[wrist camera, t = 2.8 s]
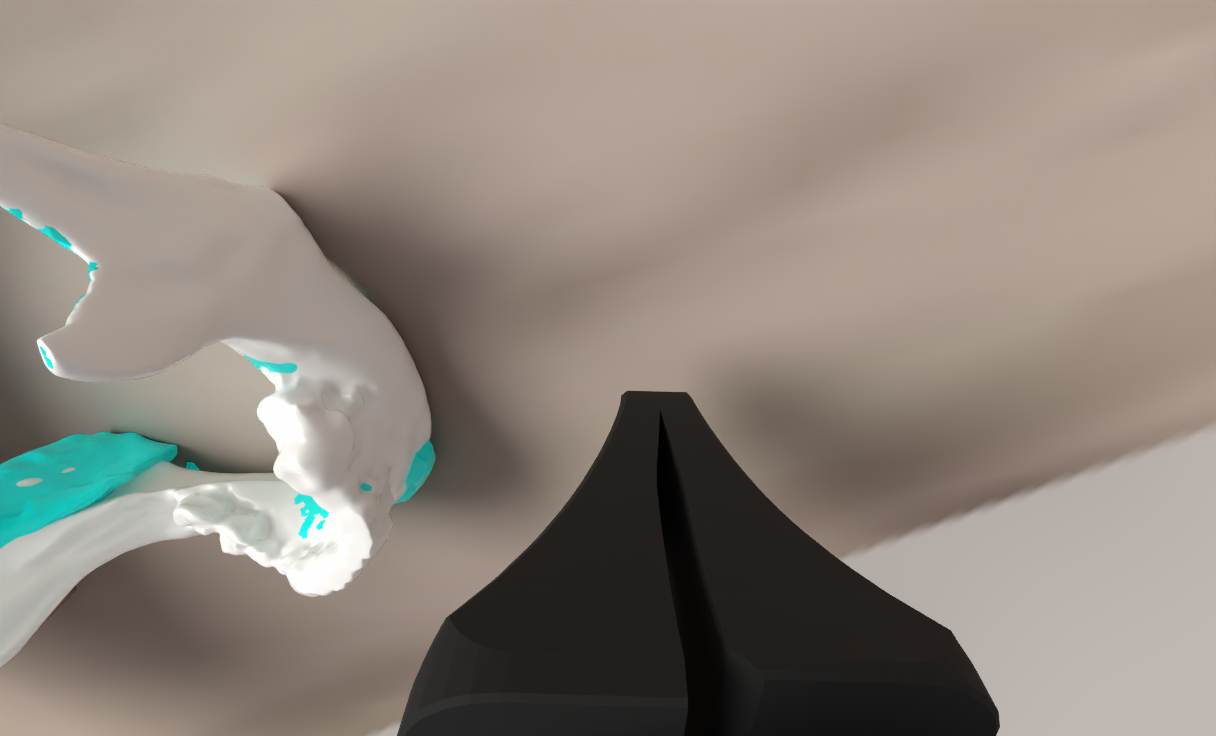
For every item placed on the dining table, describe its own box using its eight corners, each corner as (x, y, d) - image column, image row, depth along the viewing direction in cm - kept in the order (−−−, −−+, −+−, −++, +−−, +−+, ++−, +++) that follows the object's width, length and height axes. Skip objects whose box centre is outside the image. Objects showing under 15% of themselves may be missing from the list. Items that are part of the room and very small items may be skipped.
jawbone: (351, 600, 18) (-52, 941, 10) (189, 417, 18) (-332, 594, 10) (594, 360, 13) (184, 640, 5) (364, 112, 13) (-398, -38, 5)
